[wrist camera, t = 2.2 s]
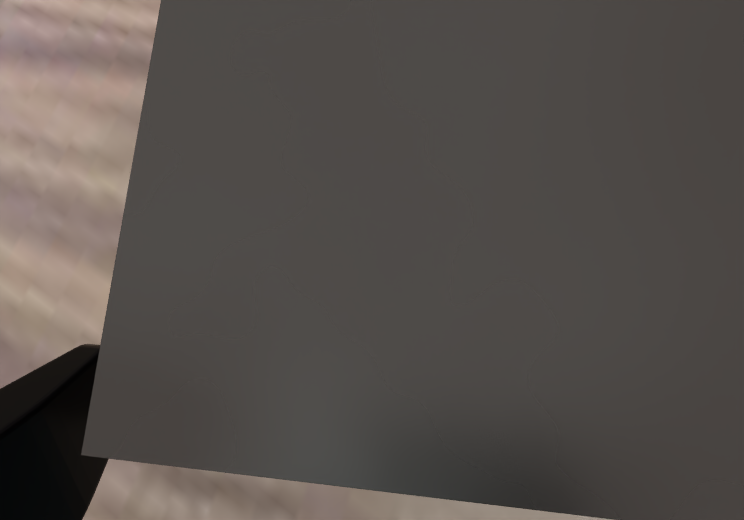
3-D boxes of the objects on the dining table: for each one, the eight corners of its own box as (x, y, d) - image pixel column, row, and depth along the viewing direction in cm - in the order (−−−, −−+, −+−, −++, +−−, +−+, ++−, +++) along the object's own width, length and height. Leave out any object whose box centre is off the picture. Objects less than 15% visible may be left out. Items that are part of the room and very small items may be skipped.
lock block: (593, 449, 17) (833, 546, 5) (362, 426, 18) (80, 455, 6) (597, 221, 18) (795, -164, 6) (381, 214, 19) (182, -117, 7)
